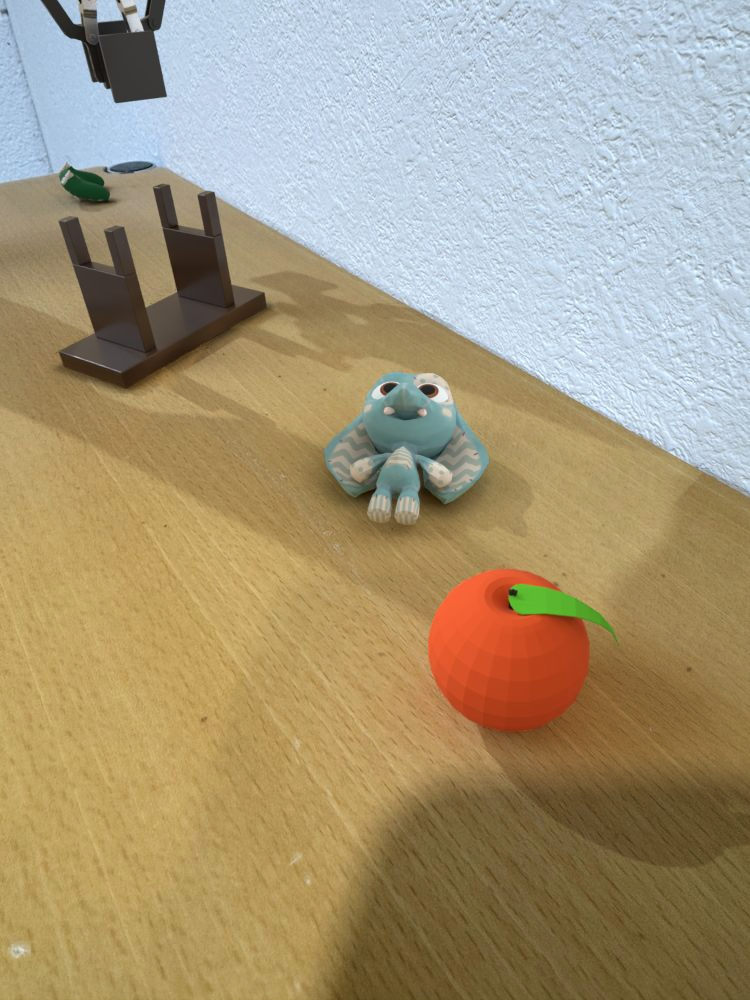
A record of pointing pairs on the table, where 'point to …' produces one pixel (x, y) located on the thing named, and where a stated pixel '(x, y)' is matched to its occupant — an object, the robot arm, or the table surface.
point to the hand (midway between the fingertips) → (125, 85)
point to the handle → (129, 62)
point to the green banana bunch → (83, 184)
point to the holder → (167, 323)
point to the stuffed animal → (406, 447)
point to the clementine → (511, 649)
